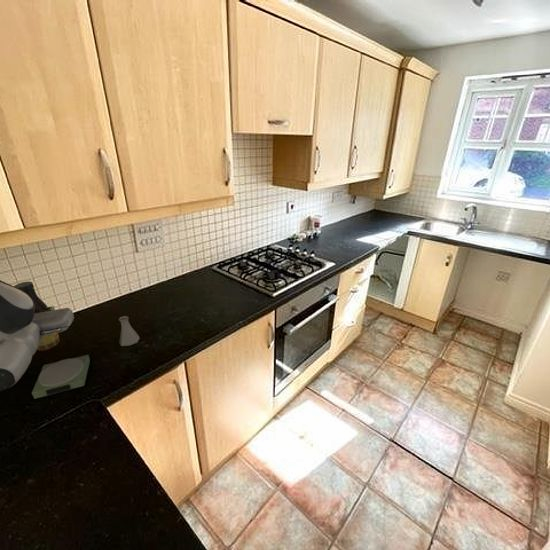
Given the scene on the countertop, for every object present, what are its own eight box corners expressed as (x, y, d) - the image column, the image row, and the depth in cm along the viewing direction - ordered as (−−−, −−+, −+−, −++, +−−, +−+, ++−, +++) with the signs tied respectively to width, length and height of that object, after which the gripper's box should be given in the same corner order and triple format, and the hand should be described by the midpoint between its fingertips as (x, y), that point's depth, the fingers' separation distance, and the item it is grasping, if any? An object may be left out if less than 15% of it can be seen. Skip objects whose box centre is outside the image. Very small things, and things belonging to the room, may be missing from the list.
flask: (140, 333, 118) (134, 311, 114) (139, 343, 112) (133, 321, 108) (120, 337, 116) (113, 315, 112) (118, 348, 110) (111, 325, 106)
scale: (33, 400, 89) (30, 392, 87) (46, 370, 100) (42, 363, 99) (83, 386, 93) (81, 379, 92) (90, 360, 104) (87, 353, 103)
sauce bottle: (63, 344, 89) (40, 283, 81) (38, 354, 85) (11, 292, 77) (57, 335, 93) (34, 277, 85) (32, 345, 89) (6, 285, 81)
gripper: (64, 318, 76) (74, 294, 87) (-40, 337, 69) (-14, 309, 80) (71, 338, 78) (80, 313, 90) (-28, 359, 71) (-4, 329, 83)
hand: (35, 311), depth 85 cm, fingers closed on sauce bottle, 6 cm apart
